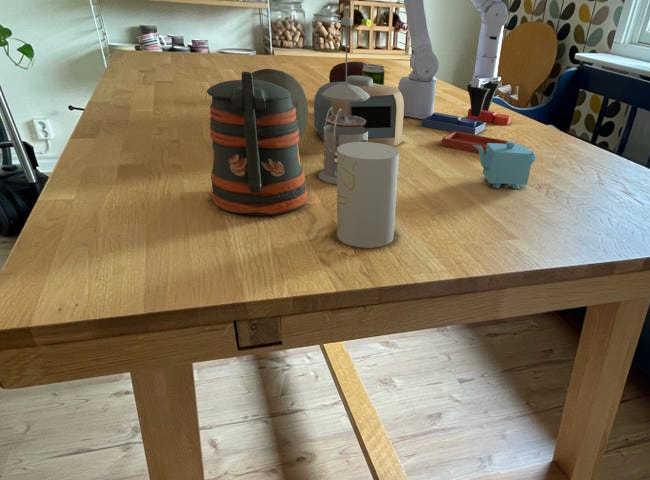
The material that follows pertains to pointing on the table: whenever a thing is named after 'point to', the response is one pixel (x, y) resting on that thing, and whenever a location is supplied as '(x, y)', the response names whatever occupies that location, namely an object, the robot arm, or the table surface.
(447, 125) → the blue tray
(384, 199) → the cup
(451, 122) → the blue spoon
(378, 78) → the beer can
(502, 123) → the red spoon
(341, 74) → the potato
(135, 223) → the table surface
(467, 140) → the red tray
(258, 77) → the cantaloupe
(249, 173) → the tankard
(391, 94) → the alarm clock
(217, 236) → the table surface
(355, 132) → the french press
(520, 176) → the teapot
